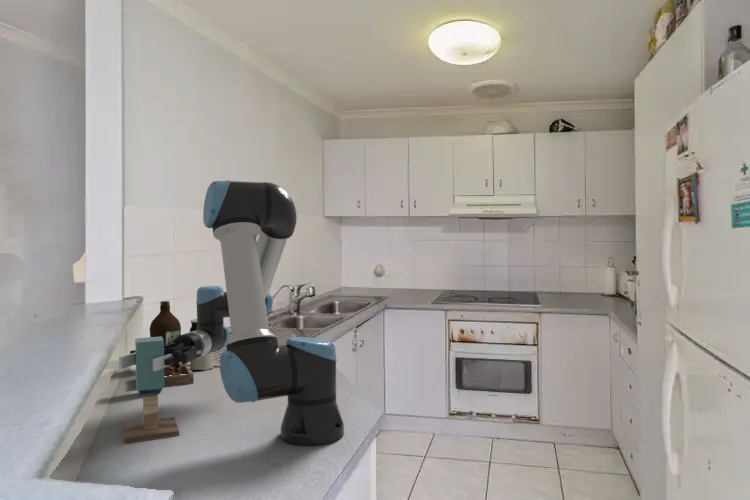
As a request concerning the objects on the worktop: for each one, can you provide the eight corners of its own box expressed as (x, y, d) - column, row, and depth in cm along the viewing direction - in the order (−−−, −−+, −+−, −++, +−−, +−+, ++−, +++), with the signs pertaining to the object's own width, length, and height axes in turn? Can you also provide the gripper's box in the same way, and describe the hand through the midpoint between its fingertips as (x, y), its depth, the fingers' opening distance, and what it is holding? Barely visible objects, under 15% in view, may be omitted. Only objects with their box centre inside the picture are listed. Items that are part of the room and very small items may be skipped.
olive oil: (143, 371, 200) (142, 302, 200) (166, 365, 210) (165, 299, 209) (165, 374, 196) (164, 303, 195) (187, 368, 205) (186, 300, 205)
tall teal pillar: (164, 387, 136) (163, 340, 136) (136, 390, 133) (136, 342, 133) (162, 381, 141) (161, 336, 141) (135, 384, 139) (135, 338, 138)
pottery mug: (163, 376, 195) (174, 356, 194) (177, 392, 190) (189, 372, 189) (134, 375, 185) (146, 354, 184) (148, 391, 179) (160, 370, 179)
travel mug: (204, 372, 199) (203, 321, 199) (185, 370, 202) (184, 320, 201) (217, 367, 206) (216, 318, 206) (199, 365, 209) (199, 317, 209)
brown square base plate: (179, 435, 134) (178, 398, 134) (124, 443, 129) (124, 405, 129) (174, 420, 145) (173, 386, 145) (123, 427, 140) (123, 392, 140)
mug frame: (193, 383, 183) (193, 374, 183) (137, 389, 176) (137, 380, 176) (188, 373, 197) (187, 365, 197) (135, 379, 190) (135, 370, 189)
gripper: (226, 361, 152) (176, 382, 130) (158, 357, 157) (99, 377, 136) (226, 334, 152) (176, 350, 130) (157, 331, 157) (99, 346, 135)
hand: (137, 364), depth 133 cm, fingers closed on tall teal pillar, 9 cm apart
